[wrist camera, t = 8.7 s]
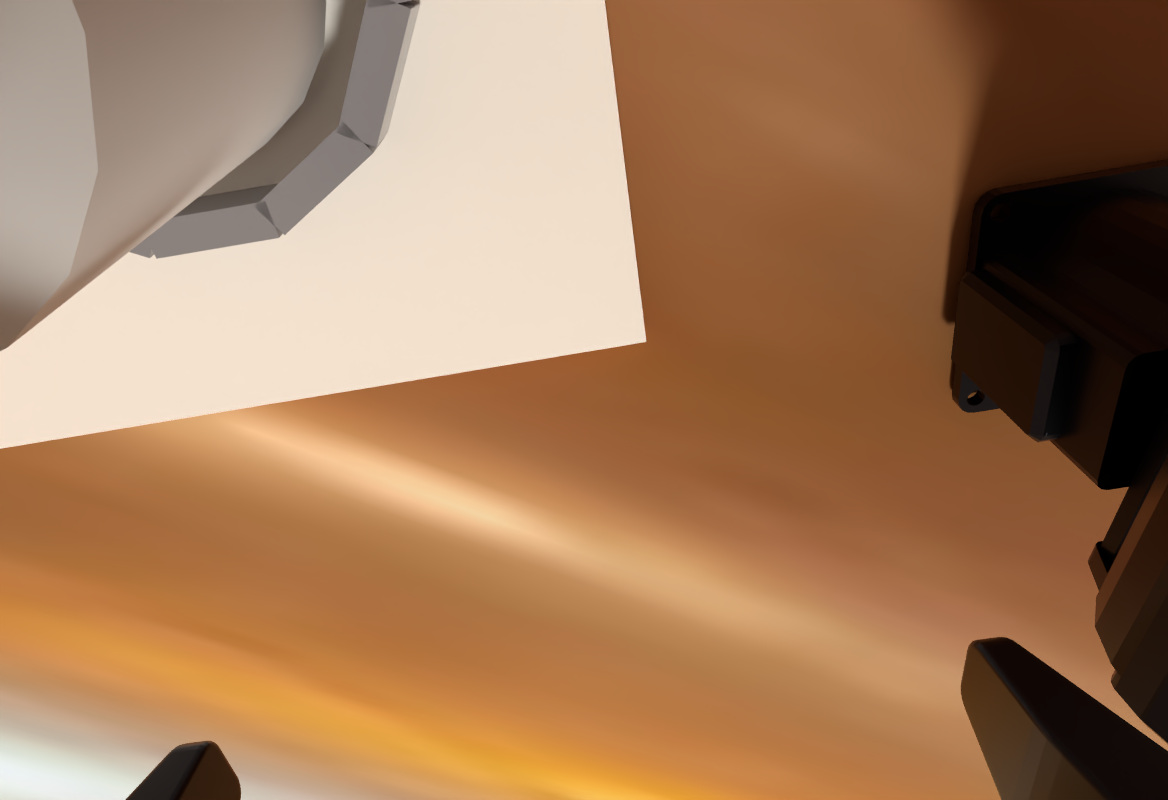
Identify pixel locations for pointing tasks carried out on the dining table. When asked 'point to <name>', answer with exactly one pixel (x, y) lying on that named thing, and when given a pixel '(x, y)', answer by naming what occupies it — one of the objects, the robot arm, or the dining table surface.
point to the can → (129, 125)
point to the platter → (369, 232)
